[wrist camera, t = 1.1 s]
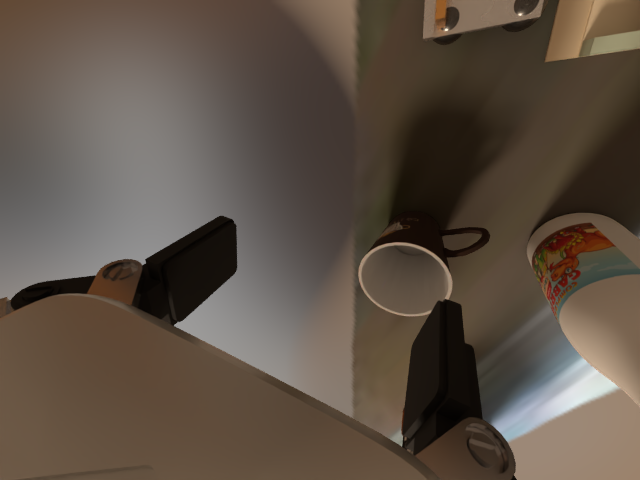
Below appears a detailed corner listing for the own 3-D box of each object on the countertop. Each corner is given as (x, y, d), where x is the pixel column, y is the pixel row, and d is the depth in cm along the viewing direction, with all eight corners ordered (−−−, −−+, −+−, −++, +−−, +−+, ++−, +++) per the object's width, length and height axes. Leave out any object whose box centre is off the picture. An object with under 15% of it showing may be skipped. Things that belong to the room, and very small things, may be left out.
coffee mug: (382, 262, 37) (364, 311, 29) (374, 204, 33) (352, 242, 25) (479, 265, 32) (489, 325, 24) (482, 197, 28) (495, 241, 20)
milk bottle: (621, 199, 24) (963, 426, 8) (628, 269, 26) (907, 553, 10) (518, 222, 28) (611, 402, 12) (532, 280, 30) (626, 497, 14)
